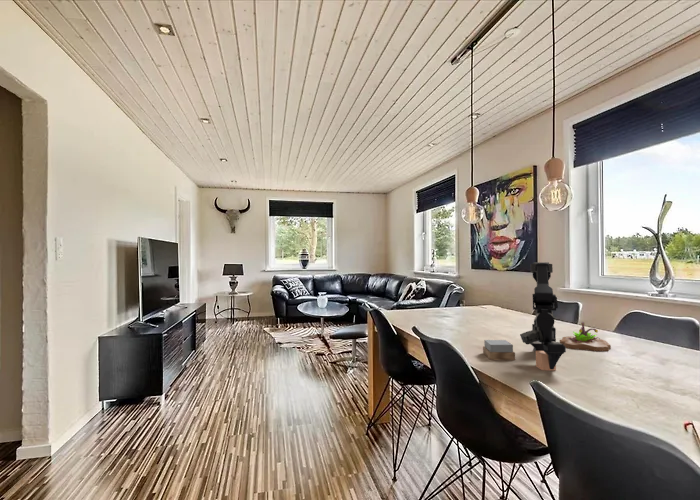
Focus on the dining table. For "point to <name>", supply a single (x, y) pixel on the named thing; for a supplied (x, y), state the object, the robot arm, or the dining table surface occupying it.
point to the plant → (585, 341)
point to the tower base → (499, 355)
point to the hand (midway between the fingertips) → (545, 365)
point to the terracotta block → (542, 361)
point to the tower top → (498, 346)
